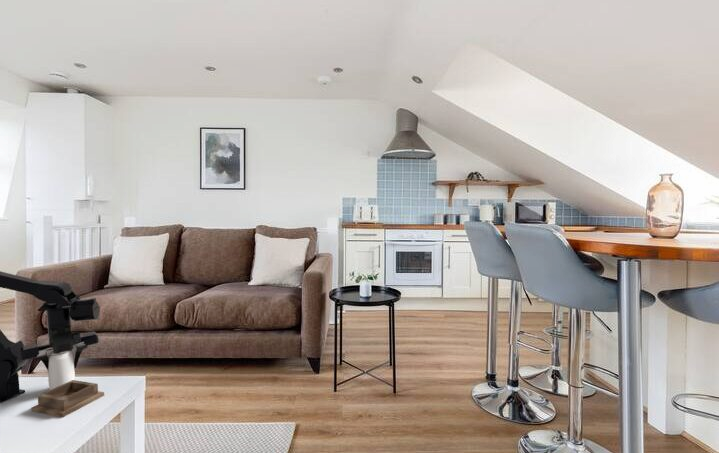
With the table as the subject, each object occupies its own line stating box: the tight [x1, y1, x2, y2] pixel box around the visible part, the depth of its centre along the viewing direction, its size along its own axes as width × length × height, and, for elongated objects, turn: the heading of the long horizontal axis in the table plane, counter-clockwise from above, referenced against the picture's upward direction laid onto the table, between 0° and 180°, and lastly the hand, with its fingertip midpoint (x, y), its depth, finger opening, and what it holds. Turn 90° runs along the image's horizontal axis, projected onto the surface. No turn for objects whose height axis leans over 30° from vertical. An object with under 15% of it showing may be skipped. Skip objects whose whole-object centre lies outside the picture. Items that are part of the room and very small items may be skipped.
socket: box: [31, 379, 105, 418], centre depth 109 cm, size 12×12×4 cm
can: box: [47, 350, 76, 391], centre depth 117 cm, size 6×6×12 cm
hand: (62, 371), depth 117 cm, fingers closed on can, 6 cm apart
